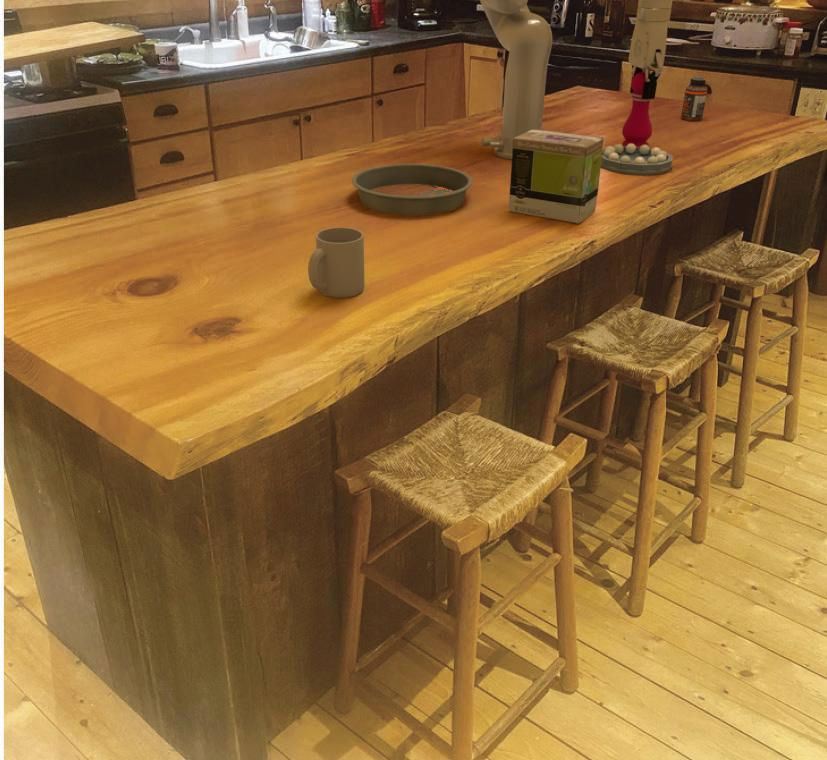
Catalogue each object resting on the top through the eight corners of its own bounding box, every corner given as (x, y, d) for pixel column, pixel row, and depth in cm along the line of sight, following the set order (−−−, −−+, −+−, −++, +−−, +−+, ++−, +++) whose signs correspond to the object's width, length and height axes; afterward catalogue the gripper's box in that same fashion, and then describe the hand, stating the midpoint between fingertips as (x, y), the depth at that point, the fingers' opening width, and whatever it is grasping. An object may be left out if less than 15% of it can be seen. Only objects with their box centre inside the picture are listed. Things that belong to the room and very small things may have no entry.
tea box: (596, 211, 166) (606, 136, 158) (578, 225, 158) (587, 147, 151) (527, 199, 172) (533, 126, 165) (506, 212, 165) (511, 136, 157)
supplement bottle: (676, 117, 242) (683, 76, 236) (694, 116, 243) (701, 76, 238) (688, 122, 237) (695, 80, 231) (706, 121, 238) (713, 79, 233)
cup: (374, 289, 131) (373, 234, 126) (327, 308, 124) (324, 252, 120) (342, 277, 135) (340, 224, 131) (295, 295, 128) (291, 240, 124)
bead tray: (614, 177, 187) (616, 161, 185) (586, 157, 202) (587, 142, 200) (683, 173, 190) (686, 157, 188) (651, 154, 205) (653, 139, 203)
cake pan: (482, 188, 179) (483, 167, 177) (456, 224, 159) (457, 201, 156) (373, 178, 185) (373, 158, 183) (335, 212, 164) (334, 190, 162)
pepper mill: (647, 146, 212) (659, 63, 202) (651, 153, 206) (664, 68, 196) (618, 145, 212) (629, 62, 202) (621, 152, 206) (633, 67, 196)
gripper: (623, 11, 200) (613, 89, 209) (654, 20, 186) (642, 103, 195) (652, 11, 202) (641, 89, 211) (685, 20, 187) (672, 102, 196)
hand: (642, 95), depth 202 cm, fingers closed on pepper mill, 6 cm apart
